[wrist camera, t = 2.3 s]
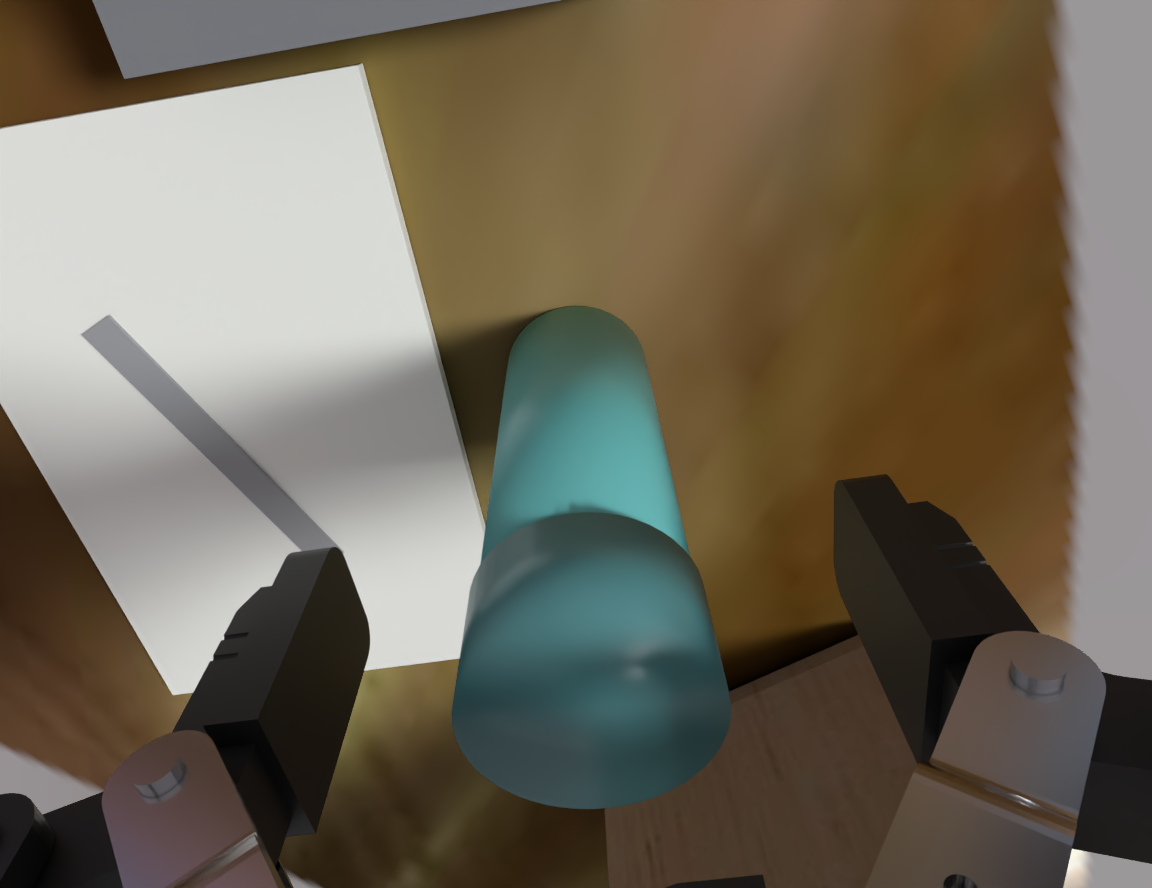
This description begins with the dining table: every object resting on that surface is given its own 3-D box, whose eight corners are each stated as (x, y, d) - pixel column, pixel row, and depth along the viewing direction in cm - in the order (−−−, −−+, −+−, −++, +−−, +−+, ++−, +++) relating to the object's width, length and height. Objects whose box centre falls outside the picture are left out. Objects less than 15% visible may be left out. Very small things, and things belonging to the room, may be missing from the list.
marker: (489, 314, 18) (420, 636, 9) (641, 290, 17) (722, 598, 9) (518, 445, 19) (485, 821, 11) (657, 424, 19) (738, 792, 10)
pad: (-131, 151, 16) (-151, 156, 15) (362, 62, 15) (356, 65, 15) (178, 684, 23) (171, 697, 23) (515, 641, 22) (514, 654, 22)
